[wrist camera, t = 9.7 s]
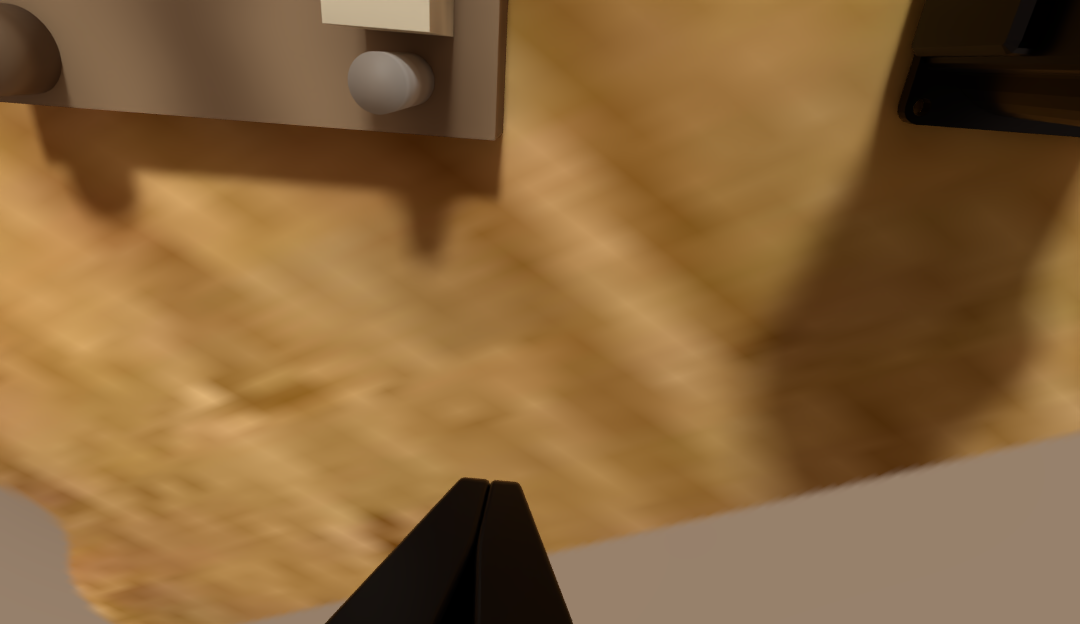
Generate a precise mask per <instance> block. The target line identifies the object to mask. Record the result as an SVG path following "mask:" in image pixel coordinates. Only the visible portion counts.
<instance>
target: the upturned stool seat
mask: <svg viewBox="0 0 1080 624" xmlns="http://www.w3.org/2000/svg"><path fill="white" fill-rule="evenodd" d="M507 10H508V0H454V25H453V37H450V36H438V35H426V34H414V33H403V32H391V31H379V30H368V29H359V28H353V27H346V26H339V25H333V24H326V23H322V12H321V0H0V102H9V103H21V104H34V105H47V106H60V107H73V108H85V109H98V110H111V111H124V112H137V113H149V114H162V115H175V116H188V117H201V118H213V119H226V120H239V121H252V122H265V123H277V124H290V125H303V126H316V127H329V128H341V129H354V130H367V131H380V132H393V133H405V134H418V135H431V136H444V137H457V138H469V139H482V140H496V139H497V138H498V137H499V136H500V135H501V134H502V133H503V114H504V88H505V62H506V36H507Z"/></svg>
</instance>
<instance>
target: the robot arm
mask: <svg viewBox="0 0 1080 624" xmlns="http://www.w3.org/2000/svg"><path fill="white" fill-rule="evenodd" d="M912 49H913V51H914V53H915V54H914V57H913V60H912V63H911V67H910V70H909V73H908V76H907V79H906V82H905V86H904V89H903V92H902V95H901V98H900V101H899V105H898V115H899V118H900V119H901V120H902V121H903V122H907V123H910V124H916V125H928V126H941V127H954V128H968V129H981V130H994V131H1007V132H1020V133H1033V134H1046V135H1059V136H1072V137H1080V0H926V2H925V5H924V8H923V11H922V14H921V18H920V21H919V24H918V27H917V30H916V34H915V37H914V40H913V43H912ZM920 99H922V101H923V102H924V103H923V108H922V110H921V111H920V112H919V113H918V114H914V112H913V106H914V105H915V103H916V102H917V101H918V100H920ZM325 624H573V623H572V619H571V617H570V614H569V611H568V609H567V606H566V603H565V601H564V599H563V596H562V593H561V590H560V588H559V585H558V582H557V580H556V577H555V574H554V572H553V569H552V567H551V564H550V561H549V559H548V556H547V553H546V551H545V548H544V545H543V543H542V540H541V538H540V535H539V532H538V530H537V527H536V524H535V522H534V519H533V516H532V514H531V511H530V509H529V506H528V503H527V501H526V498H525V495H524V493H523V490H522V488H521V486H520V484H519V483H517V482H510V481H499V480H494V481H492V482H491V484H490V483H489V481H488V480H486V479H477V478H466V477H465V478H461V479H460V480H458V482H457V483H456V484H455V485H454V486H453V487H452V488H451V489H450V490H449V491H448V492H447V493H446V494H445V495H444V497H443V498H442V499H441V500H440V501H439V502H438V503H437V504H436V505H435V506H434V507H433V508H432V509H431V510H430V512H429V513H428V514H427V515H426V516H425V517H424V518H423V519H422V520H421V521H420V522H419V523H418V524H417V525H416V527H415V528H414V529H413V530H412V531H411V532H410V533H409V534H408V535H407V536H406V537H405V538H404V539H403V541H402V542H401V543H400V544H399V545H398V546H397V547H396V548H395V549H394V550H393V551H392V552H391V553H390V554H389V556H388V557H387V558H386V559H385V560H384V561H383V562H382V563H381V564H380V565H379V566H378V567H377V568H376V569H375V571H374V572H373V573H372V574H371V575H370V576H369V577H368V578H367V579H366V580H365V581H364V582H363V583H362V584H361V586H360V587H359V588H358V589H357V590H356V591H355V592H354V593H353V594H352V595H351V596H350V597H349V598H348V599H347V601H346V602H345V603H344V604H343V605H342V606H341V607H340V608H339V609H338V610H337V611H336V612H335V613H334V614H333V616H332V617H331V618H330V619H329V620H328V621H327V622H326V623H325Z"/></svg>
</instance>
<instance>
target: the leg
mask: <svg viewBox="0 0 1080 624" xmlns="http://www.w3.org/2000/svg"><path fill="white" fill-rule="evenodd" d="M321 12H322V23H326V24H333V25H339V26H346V27H353V28H359V29H368V30H379V31H391V32H403V33H414V34H426V35H438V36H450V37H453V25H454V0H321Z"/></svg>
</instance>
